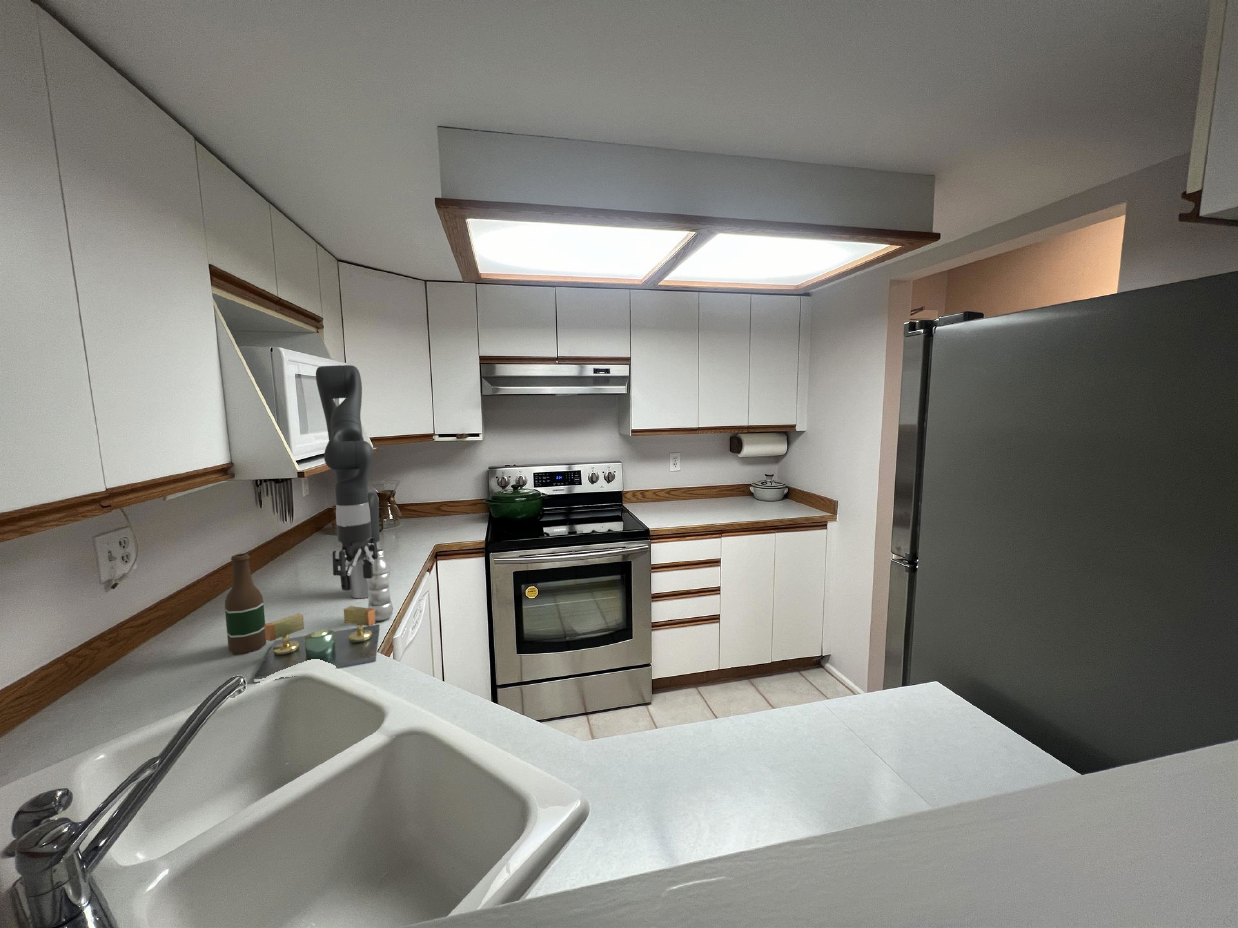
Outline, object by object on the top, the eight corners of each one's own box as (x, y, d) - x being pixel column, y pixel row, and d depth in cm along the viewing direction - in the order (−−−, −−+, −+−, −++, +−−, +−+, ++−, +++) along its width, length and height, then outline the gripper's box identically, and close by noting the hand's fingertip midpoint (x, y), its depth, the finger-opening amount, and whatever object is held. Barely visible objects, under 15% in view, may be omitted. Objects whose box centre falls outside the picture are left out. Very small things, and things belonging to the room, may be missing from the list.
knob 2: (340, 640, 127) (338, 610, 126) (356, 631, 132) (354, 603, 131) (365, 643, 124) (363, 614, 124) (380, 635, 129) (378, 606, 129)
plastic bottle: (383, 624, 140) (379, 554, 138) (362, 622, 141) (358, 553, 139) (398, 615, 146) (394, 548, 144) (377, 613, 147) (373, 547, 145)
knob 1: (296, 641, 126) (294, 611, 126) (308, 645, 124) (306, 615, 123) (263, 654, 120) (260, 623, 119) (275, 658, 117) (272, 627, 116)
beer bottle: (274, 642, 129) (267, 551, 127) (244, 656, 122) (236, 560, 119) (251, 639, 131) (243, 549, 129) (220, 653, 124) (211, 558, 121)
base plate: (275, 645, 128) (273, 619, 127) (379, 628, 137) (378, 604, 136) (253, 683, 109) (251, 653, 109) (375, 660, 119) (374, 633, 118)
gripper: (357, 514, 133) (361, 574, 134) (319, 527, 118) (324, 593, 120) (384, 515, 132) (388, 575, 133) (349, 528, 118) (353, 594, 119)
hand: (358, 583), depth 127 cm, fingers open, 8 cm apart
